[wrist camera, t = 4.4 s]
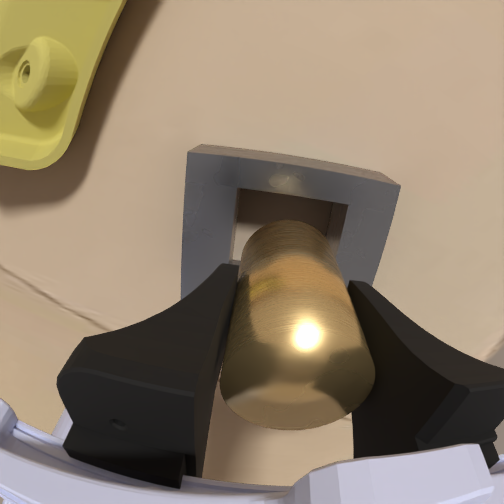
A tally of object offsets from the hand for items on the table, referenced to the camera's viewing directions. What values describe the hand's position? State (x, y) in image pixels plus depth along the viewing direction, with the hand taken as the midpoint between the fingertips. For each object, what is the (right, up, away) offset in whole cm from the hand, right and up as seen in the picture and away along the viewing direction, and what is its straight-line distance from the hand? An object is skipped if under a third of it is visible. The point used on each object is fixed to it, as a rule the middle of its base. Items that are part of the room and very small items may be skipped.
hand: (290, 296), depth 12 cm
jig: (0, +3, +7) cm, 7 cm away
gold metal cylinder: (0, +1, +2) cm, 3 cm away
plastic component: (-12, +17, +1) cm, 21 cm away
